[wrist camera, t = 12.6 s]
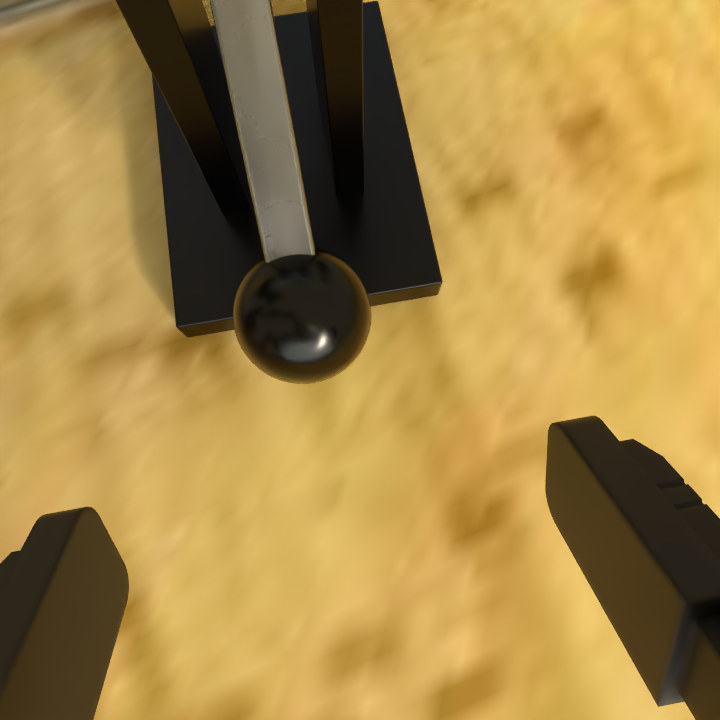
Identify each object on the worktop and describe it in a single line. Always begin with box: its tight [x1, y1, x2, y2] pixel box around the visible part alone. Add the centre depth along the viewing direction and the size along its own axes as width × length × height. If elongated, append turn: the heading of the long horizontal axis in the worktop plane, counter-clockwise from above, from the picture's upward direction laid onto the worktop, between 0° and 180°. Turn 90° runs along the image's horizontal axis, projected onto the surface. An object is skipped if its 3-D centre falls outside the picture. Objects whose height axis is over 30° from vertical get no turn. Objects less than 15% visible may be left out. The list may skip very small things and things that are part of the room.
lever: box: [210, 0, 371, 384], centre depth 11 cm, size 13×3×3 cm
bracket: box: [116, 0, 442, 337], centre depth 14 cm, size 12×9×14 cm
